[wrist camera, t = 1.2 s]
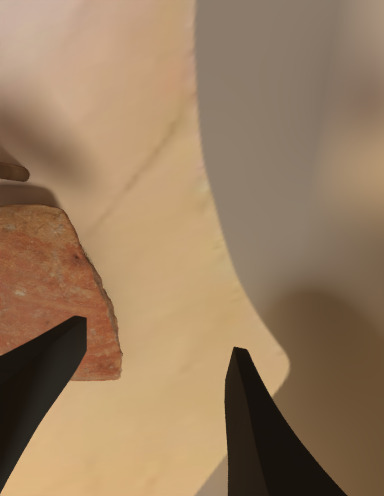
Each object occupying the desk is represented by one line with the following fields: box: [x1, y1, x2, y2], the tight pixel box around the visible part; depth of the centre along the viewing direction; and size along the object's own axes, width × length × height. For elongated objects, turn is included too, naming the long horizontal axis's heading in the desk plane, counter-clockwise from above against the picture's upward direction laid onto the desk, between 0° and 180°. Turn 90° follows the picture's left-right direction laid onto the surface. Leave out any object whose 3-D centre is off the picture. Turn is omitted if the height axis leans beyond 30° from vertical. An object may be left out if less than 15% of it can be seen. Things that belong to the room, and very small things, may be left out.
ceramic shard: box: [0, 204, 123, 381], centre depth 22 cm, size 15×6×15 cm
